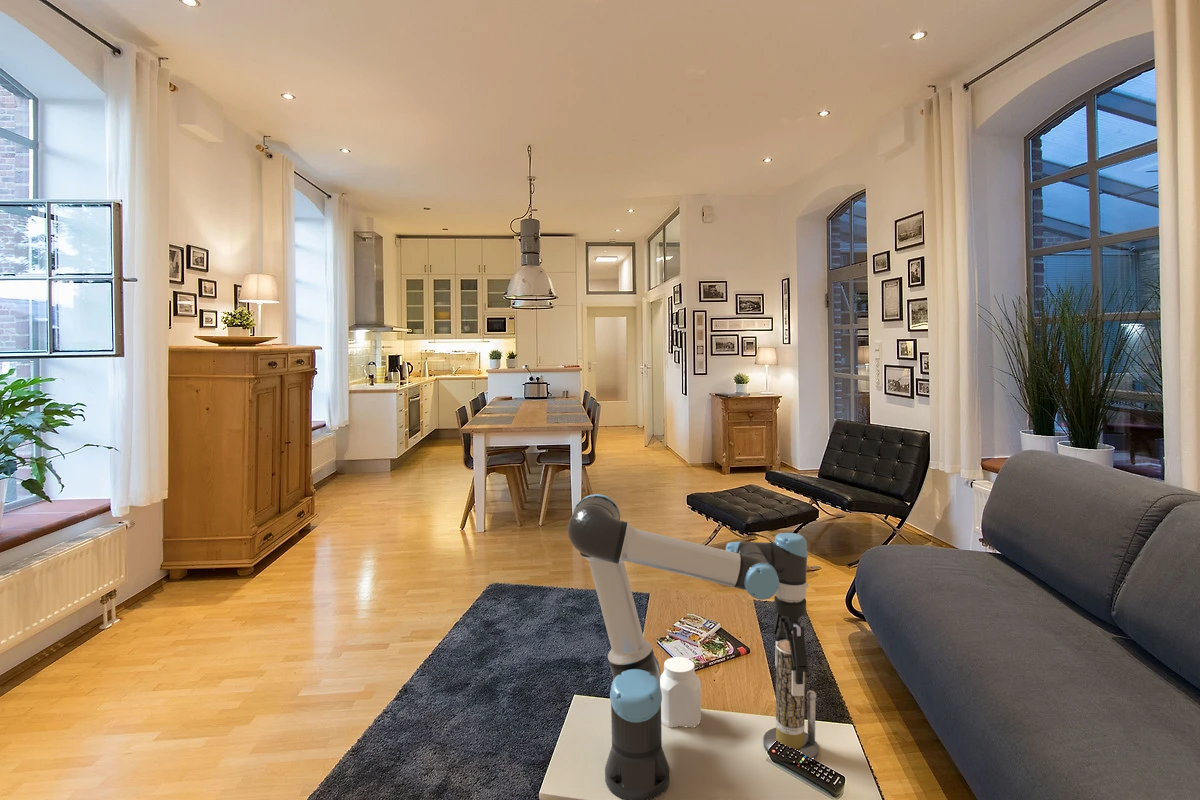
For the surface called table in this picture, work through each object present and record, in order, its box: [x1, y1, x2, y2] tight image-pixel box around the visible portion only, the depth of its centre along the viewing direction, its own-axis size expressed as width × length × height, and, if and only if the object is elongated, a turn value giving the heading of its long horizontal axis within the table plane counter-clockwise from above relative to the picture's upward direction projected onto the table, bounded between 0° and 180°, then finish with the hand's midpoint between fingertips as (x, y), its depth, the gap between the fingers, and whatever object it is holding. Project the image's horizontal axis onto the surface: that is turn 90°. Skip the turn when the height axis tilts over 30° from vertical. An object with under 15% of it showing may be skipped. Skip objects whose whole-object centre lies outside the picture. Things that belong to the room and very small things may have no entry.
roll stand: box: [762, 689, 819, 760], centre depth 152 cm, size 13×13×14 cm
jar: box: [660, 656, 702, 729], centre depth 166 cm, size 12×10×15 cm
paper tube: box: [775, 640, 806, 749], centre depth 152 cm, size 7×7×25 cm
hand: (788, 680), depth 151 cm, fingers open, 13 cm apart
